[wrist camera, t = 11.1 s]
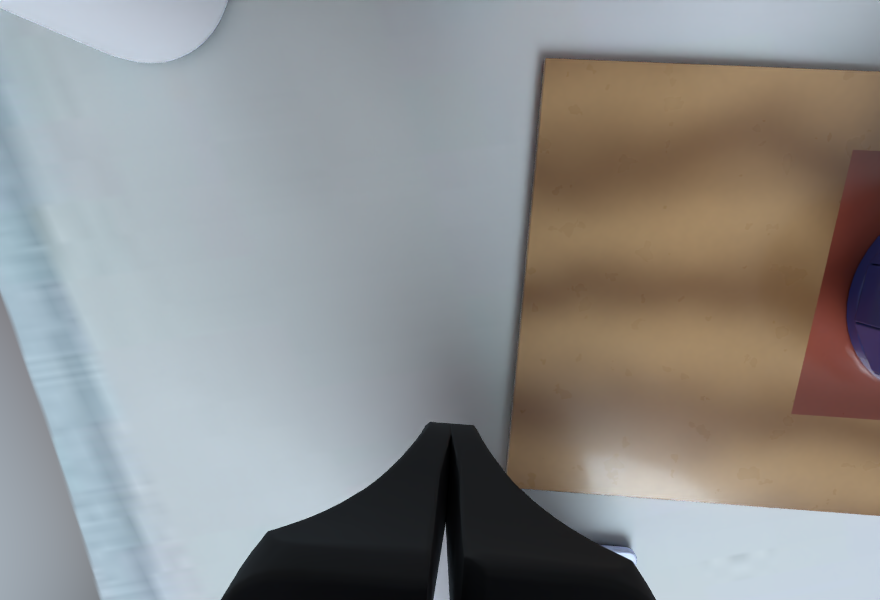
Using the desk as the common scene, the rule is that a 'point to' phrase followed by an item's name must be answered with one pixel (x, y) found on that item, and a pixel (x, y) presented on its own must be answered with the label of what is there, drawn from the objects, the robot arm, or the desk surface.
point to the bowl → (866, 309)
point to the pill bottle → (127, 24)
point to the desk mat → (699, 286)
